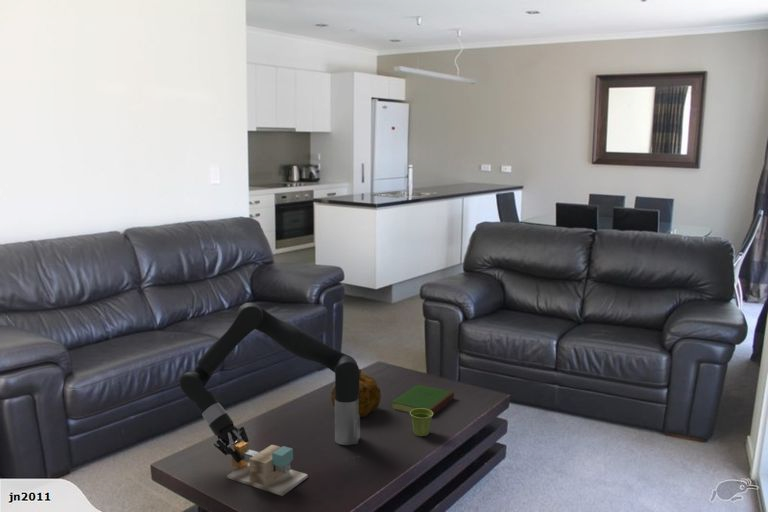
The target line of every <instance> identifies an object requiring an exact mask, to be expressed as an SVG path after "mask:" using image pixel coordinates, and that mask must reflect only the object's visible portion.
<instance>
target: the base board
mask: <svg viewBox="0 0 768 512" xmlns="http://www.w3.org/2000/svg"><path fill="white" fill-rule="evenodd" d="M226 478H227V479H230V480H232V481H236V482H239V483H242V484H243V485H247V486H251V487H254V488H256V489H259V490H262V491H265V492H269V493H272V494H275V495H278V496H281V497H283V496H284V495H286V494H288V493H289V492H290V491H291V490H292V489H294V488H295V487H297V486H298V485H299V484H300V483H302V482H303V481H305V480H306V479H307V478H309V475H308V474H307V473H305V472H301V471H298V470H294V469H291V470H290V471H288V472H287V473H284V474H283V475H281V476H280V477H278V478H277V479H276V480H274V481H273V482H271V483H270V484H268V485H267V486H265V485H262V484H259V483H256V482H252V481H250V465H249V464H248V465H246V466H245V467H243V468H242V469H240V468H236V469H234V470H232V471H231V472H229V473H228V474H226Z"/></svg>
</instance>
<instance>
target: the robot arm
mask: <svg viewBox="0 0 768 512" xmlns="http://www.w3.org/2000/svg"><path fill="white" fill-rule="evenodd" d="M255 330H257V332H260V333H263V334H265V335H266V336H268V337H269V338H271V339H272V341H274V342H275V343H276V344H278V345H279V346H280V347H282V348H283V349H284V350H286V351H288V352H289V353H291V354H293V355H294V356H297V357H298V358H301V359H303V360H307V361H310V362H311V361H312V362H315V363H319V364H321V365H322V366H324V367H326V368H327V369H328V370H331V371H332V373H334V375H335V377H334V379H335V383H334V384H335V385H334V386H335V408H334V441H335V443H336V444H338V445H342V446H351V445H358V443H359V440H360V437H361V424H360V423H361V417H360V415H359V381H360V374H359V369H360V368H359V366H358V363H357V361H356V360H355V358H354V357H353V356H351V355H348V354H347V353H346V354H345V353H344V352H341V351H339V350H336V349H334V348H332V347H330V346H328V345H327V344H325V343H324V342H322V341H321V340H319V339H318V338H316V337H315V336H313V335H311V334H309V333H308V332H306V331H304V330H303V329H300V328H298V327H297V326H294V325H293V324H291V323H288V322H286V321H283V320H281V319H280V318H278V317H275V316H274V315H272V314H271V313H270V312H268V311H267V310H265V309H264V308H263V307H261V305H258V304H257V303H254V302H245V303H243V304H242V305H240V306H239V307H238V309H237V314H236V317H235V319H234V321H233V322H232V324H231V325H230V327H229V328H228V329H227V330H226V332H224V334H223V335H222V336H221V337H220V338H218V339H217V340H215V342H214V343H213V344H212V345H211V346H209V348H208V349H207V350H206V351H205V352H204V353H203V354H202V356H201V357H200V358H199V359H198V361H197V366H196V368H195V369H194V370H193V371H190V372H189V371H188V372H185V373H183V374H182V375H181V376H180V377H179V387H180V389H181V391H182V392H183V393H184V395H185V396H186V397H187V398H188V399H189V400H190V401H192V403H194V405H195V406H196V408H197V409H198V411H199V412H200V414H201V415H202V417H203V419H204V421H205V423H206V425H207V426H208V427H209V429H210V431H211V432H212V433H213V434H214V436H217V440H216V441H215V442H214V443H213V445H214V447H215V448H216V449H217V450H219V451H220V452H221V453H222V454H224V455H225V456H228V455H230V456H231V458H232V457H233V458H234V460H235V461H236V462H237V463H239V462H240V461H241V460H242V458H241V457H240V455H239V454H238V452H237V451H235V447H234V446H233V445H234V443H236V442H237V441H243V442H246V443H248V442H249V438H248V435H247V432H246V430H245V429H246V428H245V427H244V426H241V427H239V428H238V427H236V426H235V425H234V421H233V419H231V417H230V415H229V414H228V412H227V411H226V410H225V408H224V407H223V406H222V405H221V404H220V402H219V401H218V399H217V397H216V396H215V395H214V394H213V392H212V391H209V390H207V388H206V385H207V384H208V382H209V381H210V379H211V378H212V376H213V374H214V373H215V372H216V370H218V368H219V367H221V365H222V364H223V363H224V361H225V360H226V359H227V357H228V356H229V355H230V354H231V353H232V352H233V350H235V348H236V347H237V346H238V345H240V342H242V340H244V339H245V338H246V337H247V336H248V335H249V334H251V333H252V332H253V331H255Z"/></svg>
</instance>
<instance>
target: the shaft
mask: <svg viewBox="0 0 768 512" xmlns="http://www.w3.org/2000/svg"><path fill="white" fill-rule="evenodd" d="M233 446H234V447H235V451H237V452H238V454H239V455H240V457H241V458H242V460H241V461H240V462H239V463H237V462H236V461H235V460H234V458H233V457H232V456H231V466H232V467H234V468H236V469H237V468H240V469H242V468H243V467H245V466H246V465H248V464H249V458H251V457H253V456H254V455H256V454H258V453H259V452H260V451H256V450H253V449H249V443H248V442H247V443H246V442H243V441H237V442H236V443H234V445H233ZM273 466H274V470H275V471H278V472H282V473H287V472H288V471H290V470H292V467H291V461H290V462H289V463H287V464H286V465H285V466H283V467H280V466H276V465H273Z"/></svg>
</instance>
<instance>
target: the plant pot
mask: <svg viewBox="0 0 768 512" xmlns="http://www.w3.org/2000/svg"><path fill="white" fill-rule="evenodd" d="M409 414H410V418H411V423H412V431H413V433H412V434H414V435H415V436H417V437H423V436H424V437H426V436H428V435H429V433H430V427H431V421H432V418H433V416H434V415H433V412H432V411H431V410H429V409H425V408H417V409H413V410H411V411H410V413H409Z"/></svg>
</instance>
